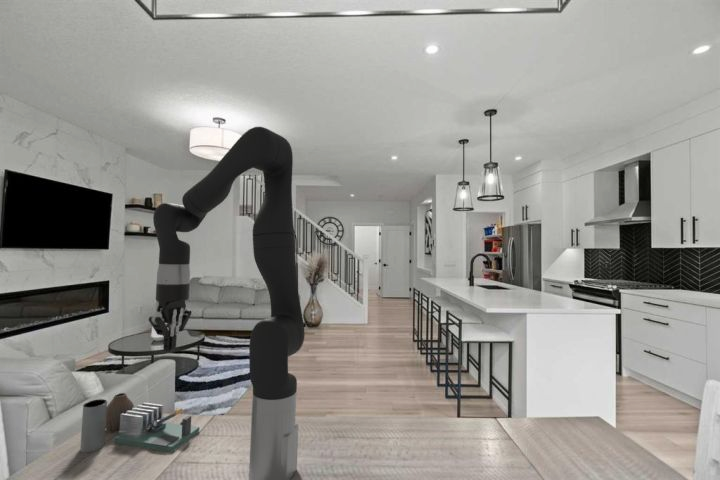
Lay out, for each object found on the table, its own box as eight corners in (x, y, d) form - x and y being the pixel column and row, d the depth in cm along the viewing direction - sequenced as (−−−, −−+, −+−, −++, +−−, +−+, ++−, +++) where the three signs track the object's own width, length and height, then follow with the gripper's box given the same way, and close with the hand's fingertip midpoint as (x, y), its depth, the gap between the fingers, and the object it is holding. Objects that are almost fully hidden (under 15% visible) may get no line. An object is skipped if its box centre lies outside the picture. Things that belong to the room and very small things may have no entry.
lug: (190, 432, 90) (191, 416, 90) (185, 436, 88) (186, 419, 88) (185, 431, 90) (186, 415, 90) (179, 435, 88) (180, 418, 88)
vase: (117, 436, 89) (120, 401, 89) (95, 433, 90) (97, 398, 91) (140, 424, 95) (142, 391, 96) (118, 421, 97) (120, 388, 97)
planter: (76, 453, 81) (79, 407, 81) (85, 443, 85) (88, 399, 86) (99, 451, 82) (102, 406, 82) (107, 441, 86) (110, 398, 87)
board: (199, 431, 93) (199, 426, 93) (170, 452, 82) (170, 446, 82) (146, 424, 96) (147, 418, 96) (112, 443, 86) (113, 437, 86)
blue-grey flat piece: (184, 411, 91) (182, 406, 91) (175, 416, 88) (173, 412, 88) (162, 422, 92) (160, 418, 92) (152, 428, 89) (151, 424, 89)
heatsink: (169, 424, 93) (170, 405, 94) (145, 439, 85) (146, 418, 86) (144, 421, 95) (145, 402, 95) (118, 435, 87) (119, 414, 87)
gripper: (167, 284, 83) (163, 359, 82) (202, 281, 96) (199, 345, 95) (140, 283, 85) (135, 356, 84) (178, 280, 98) (174, 343, 97)
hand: (169, 350), depth 90 cm, fingers closed
